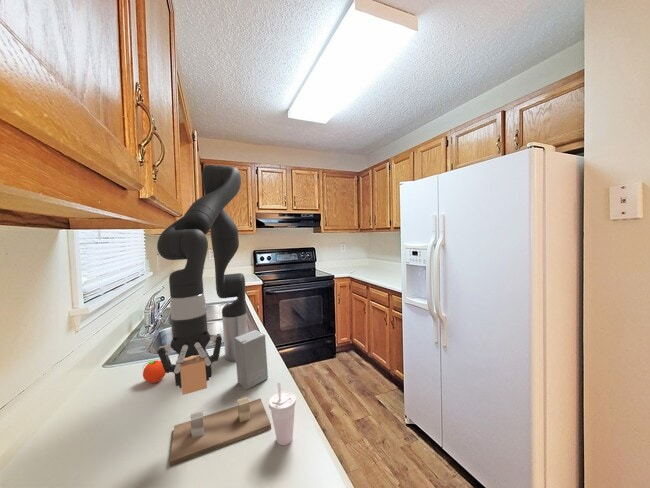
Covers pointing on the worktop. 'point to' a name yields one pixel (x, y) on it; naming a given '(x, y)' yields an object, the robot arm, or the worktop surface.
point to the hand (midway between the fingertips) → (194, 382)
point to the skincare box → (251, 358)
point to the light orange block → (193, 374)
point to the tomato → (154, 371)
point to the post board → (218, 429)
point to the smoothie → (283, 415)
